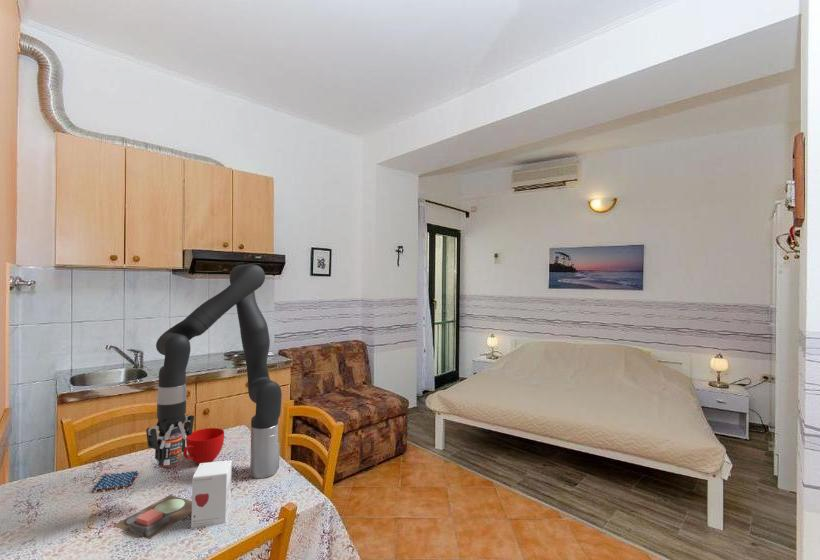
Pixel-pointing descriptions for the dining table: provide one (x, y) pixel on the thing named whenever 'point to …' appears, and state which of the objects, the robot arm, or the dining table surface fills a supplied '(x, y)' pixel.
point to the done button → (149, 517)
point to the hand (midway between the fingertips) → (170, 455)
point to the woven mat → (115, 481)
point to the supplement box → (211, 493)
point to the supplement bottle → (172, 449)
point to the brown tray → (172, 513)
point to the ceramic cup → (204, 445)
